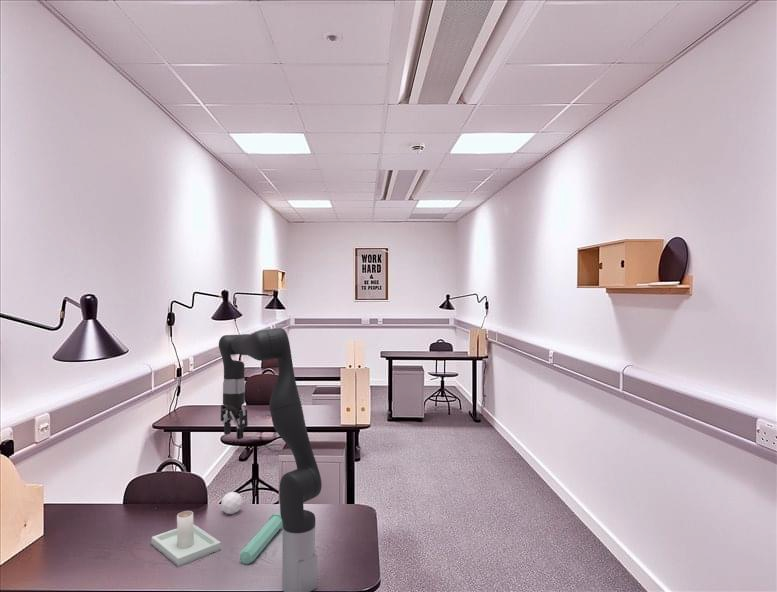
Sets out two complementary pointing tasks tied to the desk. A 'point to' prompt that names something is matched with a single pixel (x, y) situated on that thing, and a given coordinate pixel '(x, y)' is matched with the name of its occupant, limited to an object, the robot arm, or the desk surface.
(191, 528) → the cup
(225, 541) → the desk surface
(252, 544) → the green faceted rod
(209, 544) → the tray
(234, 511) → the geometric ball
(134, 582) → the desk surface
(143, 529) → the desk surface
